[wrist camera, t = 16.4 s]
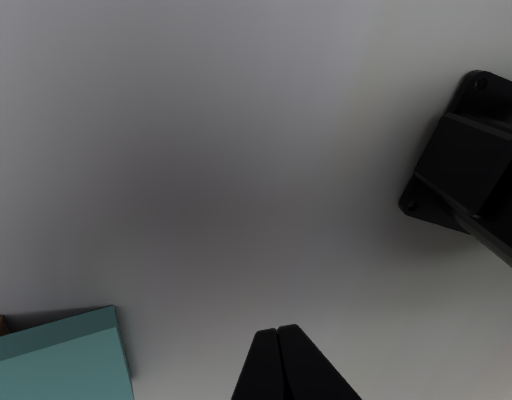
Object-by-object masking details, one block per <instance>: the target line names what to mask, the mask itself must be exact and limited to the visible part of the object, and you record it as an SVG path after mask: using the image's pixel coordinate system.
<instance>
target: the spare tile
mask: <svg viewBox="0 0 512 400" xmlns="http://www.w3.org/2000/svg"><path fill="white" fill-rule="evenodd" d="M0 400H134V394H133V387H132V381H131V375H130V371H129V367H128V363H127V359H126V355H125V351H124V347H123V342H122V338H121V334H120V330H119V326H118V322H117V318H116V314H115V310H114V306H113V305H112V306H109V307H105V308H102V309H98V310H94V311H91V312H87V313H84V314H80V315H76V316H73V317H69V318H66V319H62V320H58V321H55V322H51V323H48V324H44V325H40V326H37V327H33V328H30V329H26V330H22V331H19V332H15V333H12V334H8V335H5V336H1V337H0Z"/></svg>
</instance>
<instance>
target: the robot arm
mask: <svg viewBox="0 0 512 400" xmlns="http://www.w3.org/2000/svg"><path fill="white" fill-rule="evenodd" d="M478 79H481V84H480V86H479V87H478V88H477V89H475V83H476V81H477V80H478ZM414 171H415V172H414V174H413V176H412V177H411V179H410V181H409V183H408V185H407V187H406V189H405V190H404V192H403V194H402V196H401V198H400V200H399V203H398V204H399V208H400V210H401V211H402V212H403V213H404V214H406V215H408V216H411V217H414V218H417V219H421V220H424V221H427V222H430V223H434V224H437V225H440V226H444V227H447V228H450V229H454V230H457V231H460V232H463V233H467V234H470V235H472V236H474V237H475V238H476V239H477V240H479V241H480V242H481V243H482V244H484V245H485V246H486V247H487V248H488V249H490V250H491V251H492V252H493V253H495V254H496V255H497V256H498V257H499V258H501V259H502V260H503V261H504V262H506V263H507V264H508V265H509V266H511V267H512V81H510V80H507V79H505V78H502V77H500V76H498V75H495V74H493V73H490V72H487V71H481V70H475V71H472V72H471V73H469V74H468V75H467V76H466V78H465V79H464V81H463V83H462V85H461V87H460V88H459V90H458V92H457V94H456V96H455V98H454V100H453V101H452V103H451V105H450V107H449V109H448V111H447V113H446V114H445V115H444V116H443V117H442V118H441V120H440V122H439V124H438V125H437V127H436V129H435V131H434V133H433V135H432V137H431V139H430V140H429V142H428V144H427V146H426V148H425V150H424V152H423V153H422V155H421V157H420V159H419V161H418V163H417V165H416V166H415V169H414ZM412 201H415V202H414V204H413V206H411V207H408V204H409V203H410V202H412ZM277 333H278V334H277ZM231 400H362V399H361V398H360V396H359V395H358V394H357V393H356V392H355V391H354V389H353V388H352V387H351V386H350V385H349V384H348V383H347V381H346V380H345V379H344V378H343V377H342V376H341V374H340V373H339V372H338V371H337V370H336V369H335V367H334V366H333V365H332V364H331V363H330V362H329V361H328V359H327V358H326V357H325V356H324V355H323V354H322V352H321V351H320V350H319V349H318V348H317V347H316V345H315V344H314V343H313V342H312V341H311V340H310V338H309V337H308V336H307V335H306V334H305V333H304V332H303V330H302V329H301V328H300V327H299V326H298V325H297V324H291V325H286V326H280V327H279V328H278V329H277V330H276V329H275V328H270V329H265V330H260V331H257V332H256V334H255V336H254V339H253V341H252V344H251V347H250V349H249V352H248V355H247V357H246V360H245V363H244V366H243V368H242V371H241V374H240V376H239V379H238V382H237V384H236V387H235V390H234V392H233V395H232V398H231Z"/></svg>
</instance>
